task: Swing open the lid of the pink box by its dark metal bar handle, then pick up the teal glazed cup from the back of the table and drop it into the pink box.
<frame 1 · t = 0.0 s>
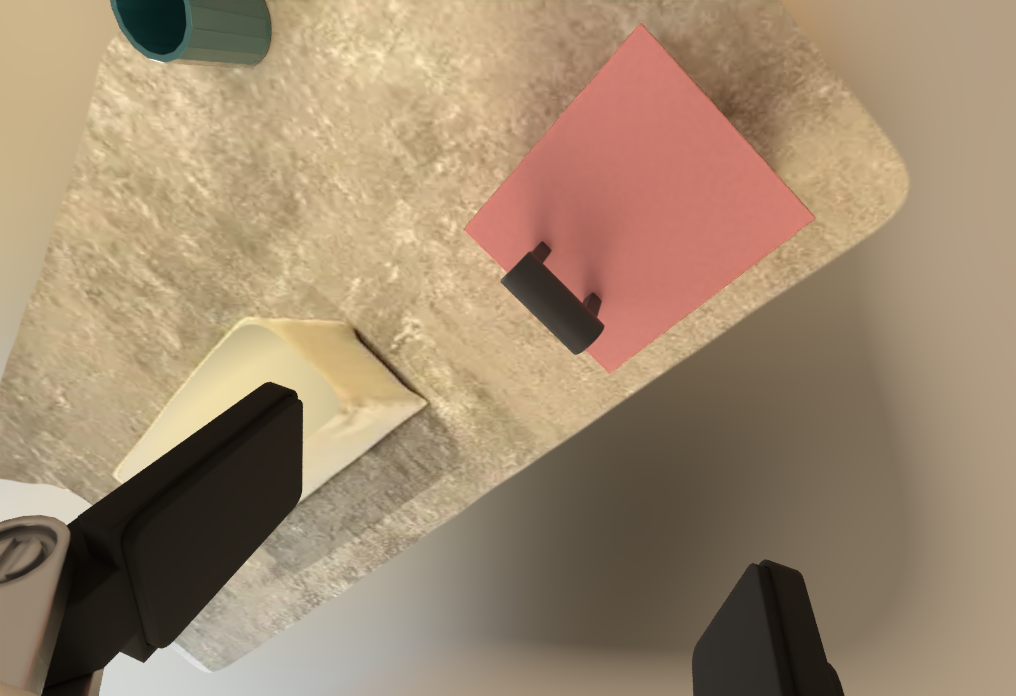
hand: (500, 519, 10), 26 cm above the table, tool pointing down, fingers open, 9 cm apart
lid: (619, 234, 21), point 12 cm above the table, hinge at 0.0°
cup: (235, 21, 34), on the table
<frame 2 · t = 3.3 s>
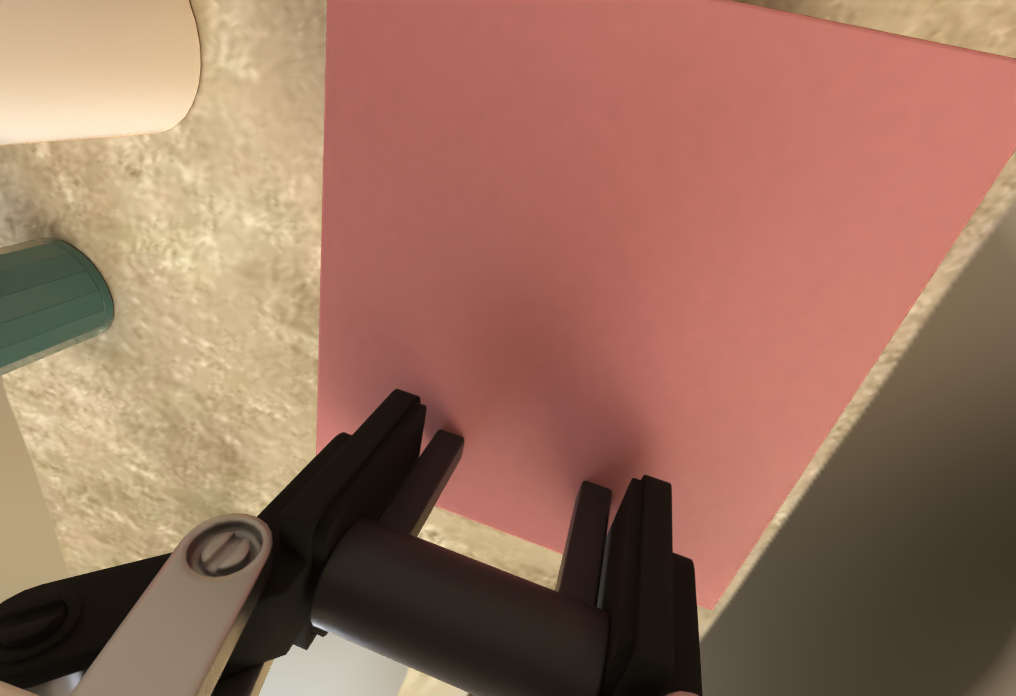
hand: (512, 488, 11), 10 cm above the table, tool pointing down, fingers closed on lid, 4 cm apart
lid: (536, 385, 8), point 12 cm above the table, hinge at 0.0°, touching gripper
pill bottle: (122, 29, 20), on the table
cup: (71, 287, 27), on the table
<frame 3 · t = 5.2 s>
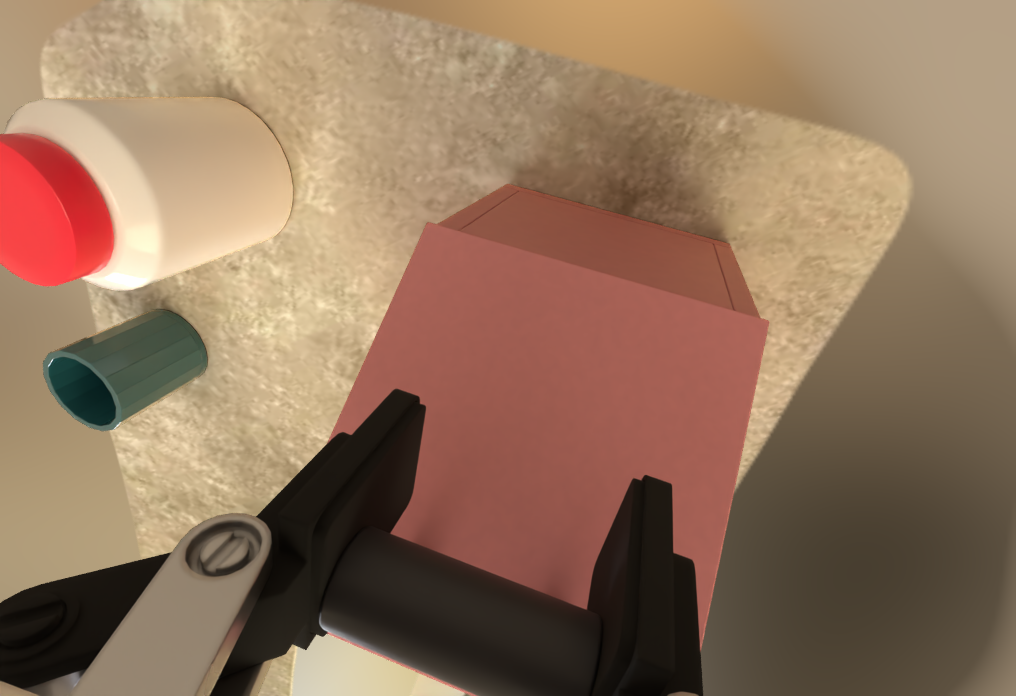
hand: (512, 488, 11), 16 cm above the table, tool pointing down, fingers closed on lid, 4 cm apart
lid: (528, 442, 12), point 15 cm above the table, hinge at 46.3°, touching gripper
pink box: (584, 313, 26), on the table
pill bottle: (235, 173, 28), on the table
cup: (174, 345, 35), on the table
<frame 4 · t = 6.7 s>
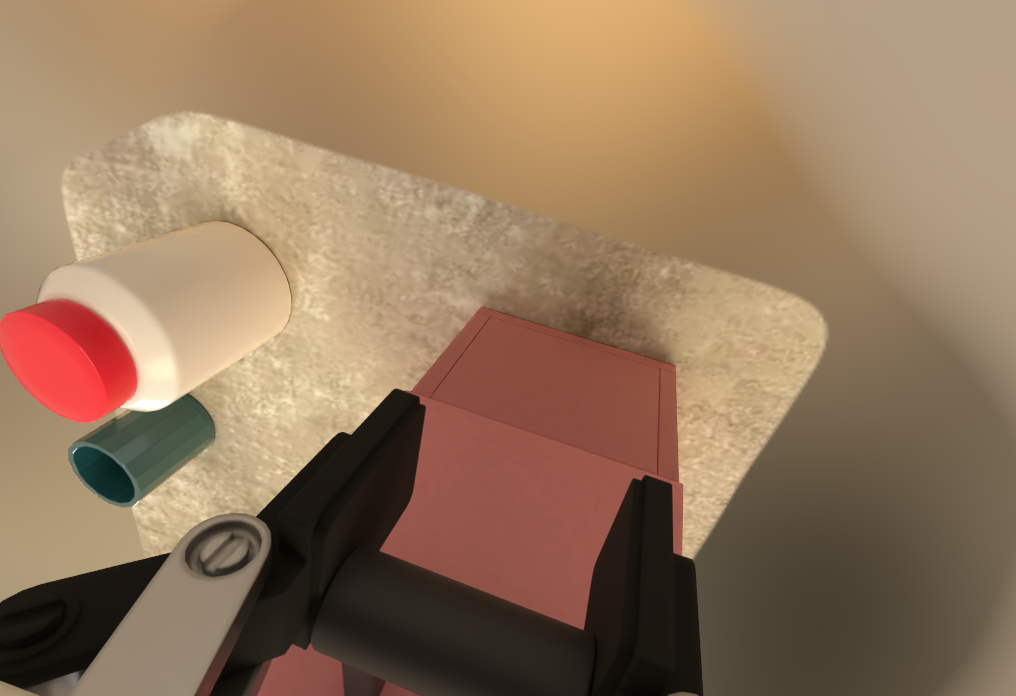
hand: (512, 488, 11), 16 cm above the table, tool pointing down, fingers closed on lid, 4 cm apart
lid: (500, 534, 13), point 15 cm above the table, hinge at 83.6°, touching gripper
pink box: (551, 413, 29), on the table
pill bottle: (238, 282, 31), on the table
cup: (184, 419, 39), on the table
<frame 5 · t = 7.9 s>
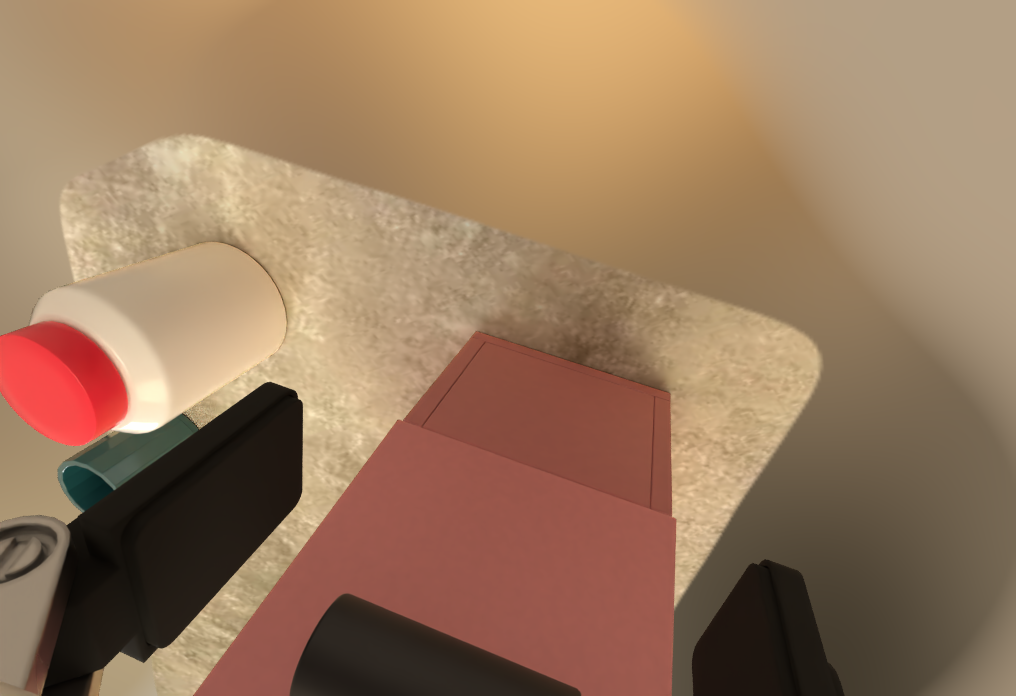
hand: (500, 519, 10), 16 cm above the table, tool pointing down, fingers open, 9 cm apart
lid: (489, 575, 13), point 15 cm above the table, hinge at 83.8°
pink box: (546, 438, 29), on the table
pill bottle: (234, 302, 31), on the table
cup: (176, 437, 38), on the table
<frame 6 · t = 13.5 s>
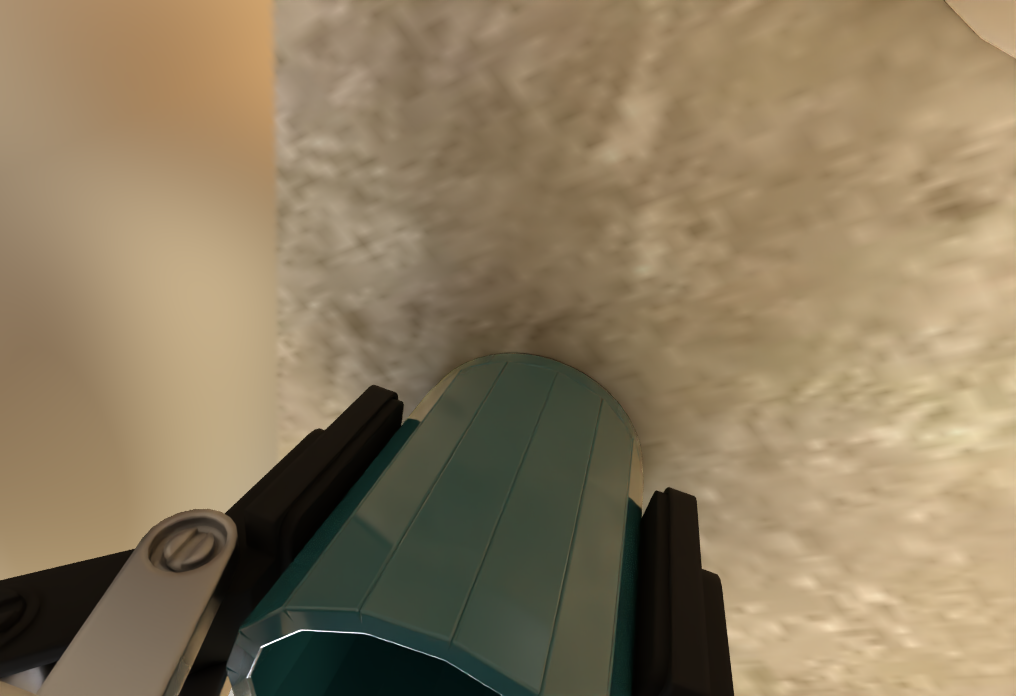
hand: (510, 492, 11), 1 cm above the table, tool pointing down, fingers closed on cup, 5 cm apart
cup: (526, 453, 12), on the table, touching gripper
when the fingers open (8 cm above the table, at t = 21.9 s): cup stays where it is, resting on pink box.
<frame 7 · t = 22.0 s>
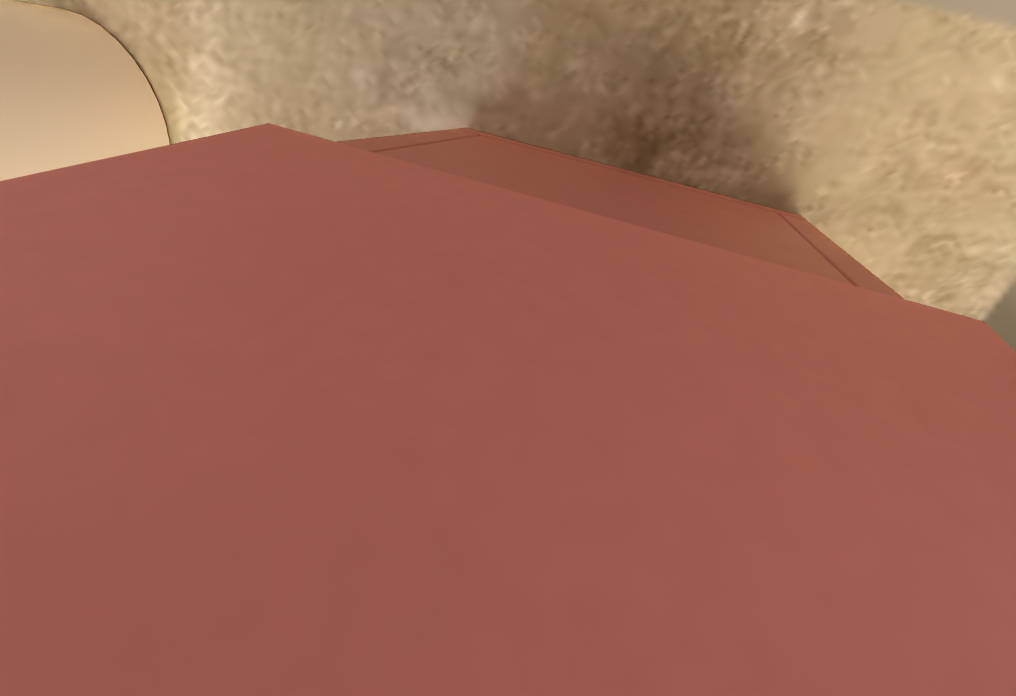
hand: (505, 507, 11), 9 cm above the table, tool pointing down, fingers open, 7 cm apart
lid: (459, 113, 1), point 15 cm above the table, hinge at 83.8°
pink box: (578, 321, 18), on the table
pill bottle: (94, 124, 20), on the table
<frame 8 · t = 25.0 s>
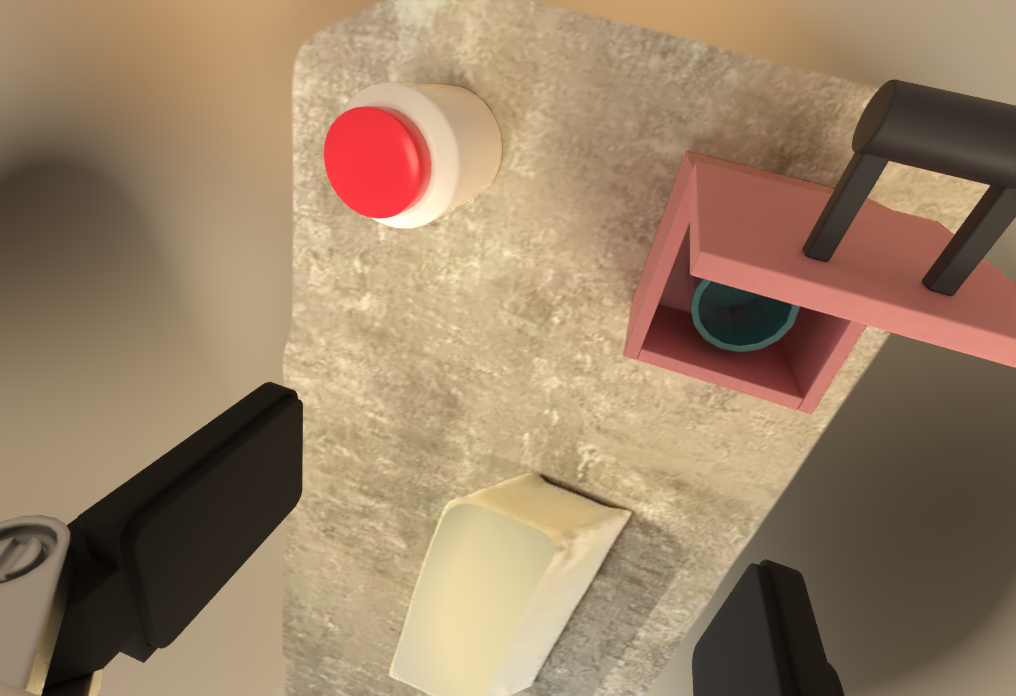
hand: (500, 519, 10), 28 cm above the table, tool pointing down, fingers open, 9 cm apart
lid: (878, 177, 17), point 15 cm above the table, hinge at 83.8°
pink box: (735, 254, 34), on the table
pill bottle: (450, 146, 36), on the table
cup: (730, 271, 33), point 1 cm above the table, touching pink box
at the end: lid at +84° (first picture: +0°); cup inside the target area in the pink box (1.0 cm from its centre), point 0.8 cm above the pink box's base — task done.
